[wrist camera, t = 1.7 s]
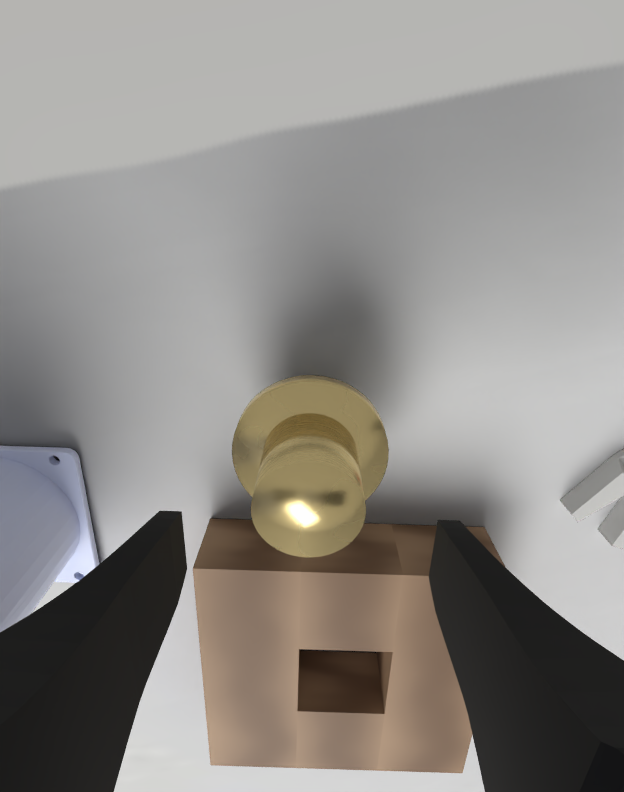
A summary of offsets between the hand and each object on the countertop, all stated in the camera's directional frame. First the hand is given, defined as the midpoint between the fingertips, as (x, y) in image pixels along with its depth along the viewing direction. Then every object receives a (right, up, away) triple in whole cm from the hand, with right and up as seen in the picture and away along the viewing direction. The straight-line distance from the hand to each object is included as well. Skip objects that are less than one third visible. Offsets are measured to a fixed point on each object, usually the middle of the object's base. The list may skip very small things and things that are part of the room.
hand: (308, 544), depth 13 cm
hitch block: (+2, -9, +13) cm, 16 cm away
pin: (0, +3, +8) cm, 9 cm away
